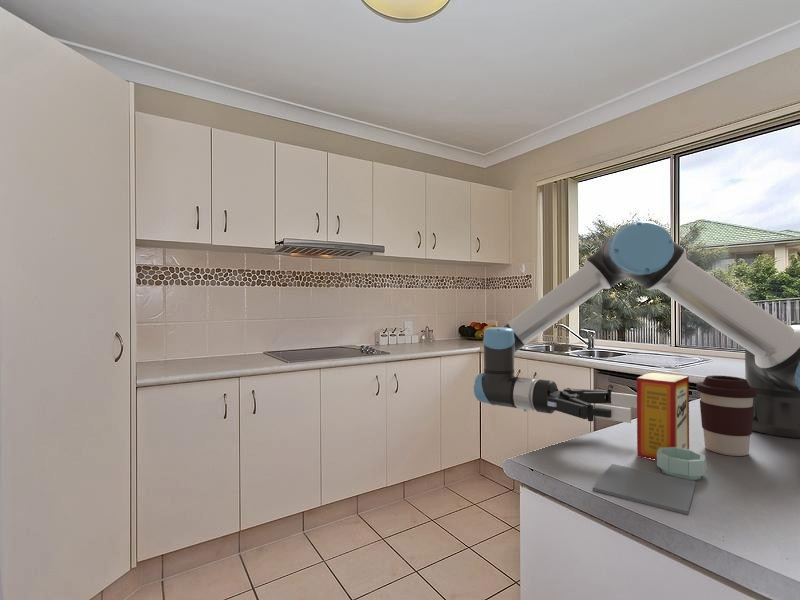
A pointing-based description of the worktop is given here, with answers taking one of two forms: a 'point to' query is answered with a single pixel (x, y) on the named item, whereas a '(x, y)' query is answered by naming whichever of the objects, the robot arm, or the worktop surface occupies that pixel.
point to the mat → (647, 488)
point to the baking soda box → (662, 413)
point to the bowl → (681, 463)
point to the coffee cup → (727, 414)
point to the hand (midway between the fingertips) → (637, 408)
